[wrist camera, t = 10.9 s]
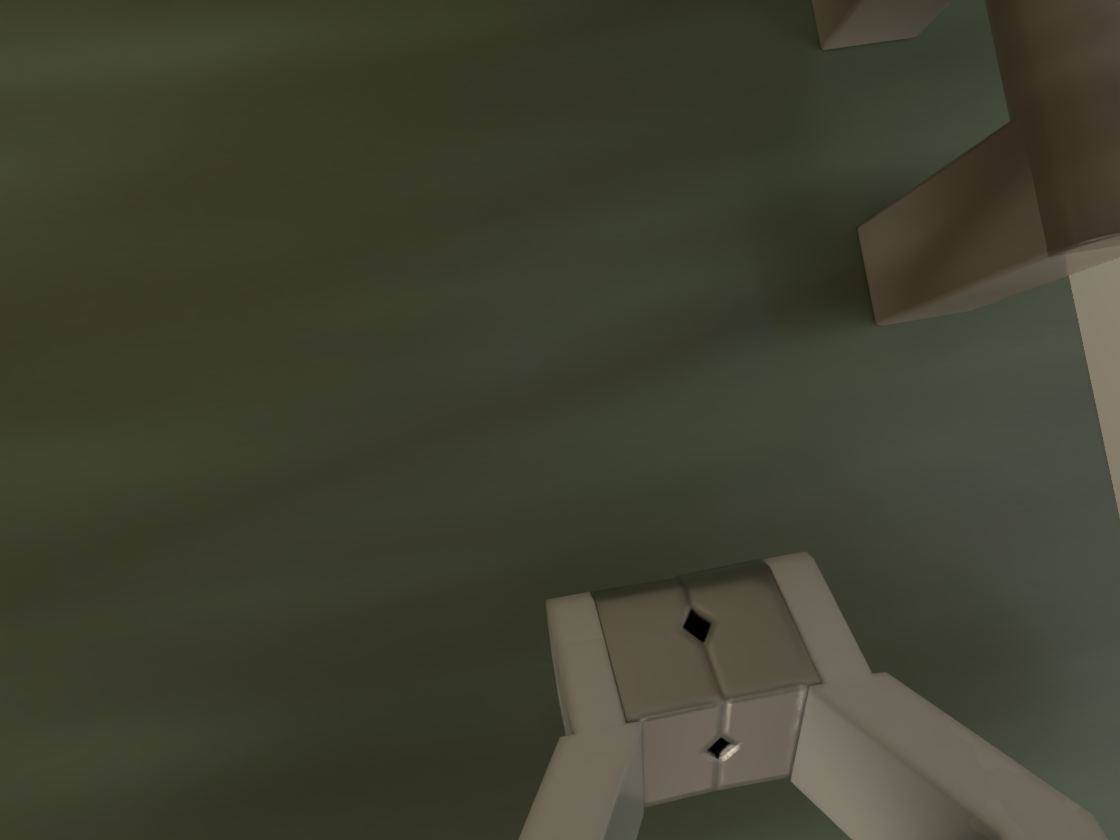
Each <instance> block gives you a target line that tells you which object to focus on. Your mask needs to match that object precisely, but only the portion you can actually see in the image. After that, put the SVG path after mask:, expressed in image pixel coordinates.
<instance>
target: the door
mask: <svg viewBox="0 0 1120 840" xmlns="http://www.w3.org/2000/svg"><path fill="white" fill-rule="evenodd" d="M1119 257H1120V0H0V840H518V839H519V836H520V834H521V832H522V829H523V827H524V824H525V822H526V819H527V817H528V814H529V812H530V809H531V807H532V804H533V802H534V800H535V797H536V795H537V792H538V790H539V787H540V785H541V782H542V780H543V777H544V775H545V772H546V770H547V768H548V765H549V763H550V760H551V758H552V755H553V753H554V750H555V748H556V745H557V743H558V741H559V738H560V737H561V736H566V734H565V729H564V724H563V719H562V714H561V709H560V704H559V699H558V692H557V686H556V679H555V673H554V666H553V660H552V653H551V645H550V637H549V628H548V620H547V612H546V604H545V602H546V600H547V599H552V598H558V597H563V596H568V595H574V594H579V593H585V592H590V593H591V592H592V591H597V590H604V589H610V588H616V587H622V586H628V585H634V584H640V583H646V582H652V581H658V580H664V579H670V578H675V577H676V576H678V575H682V574H687V573H692V572H697V571H702V570H707V569H712V568H717V567H722V566H727V565H731V564H736V563H741V562H746V561H751V560H756V559H760V560H763V559H768V558H773V557H778V556H783V555H788V554H793V553H797V552H807V553H808V554H809V555H810V556H812V557H813V558H814V560H815V562H816V564H817V566H818V568H819V570H820V572H821V573H822V575H823V577H824V579H825V581H826V583H827V585H828V587H829V589H830V591H831V593H832V595H833V597H834V599H835V601H836V603H837V605H838V607H839V609H840V611H841V613H842V615H843V617H844V619H845V621H846V623H847V625H848V627H849V629H850V631H851V633H852V634H853V636H854V638H855V640H856V642H857V644H858V646H859V648H860V650H861V652H862V654H863V656H864V658H865V660H866V662H867V664H868V666H869V668H870V670H871V672H872V673H879V672H885V671H886V672H887V673H888V674H890V675H891V676H893V677H894V678H896V679H897V680H899V681H900V682H901V683H903V684H904V685H906V686H907V687H909V688H910V689H912V690H913V691H915V692H916V693H917V694H919V695H920V696H922V697H923V698H925V699H926V700H928V701H929V702H930V703H932V704H933V705H935V706H936V707H938V708H939V709H941V710H942V711H943V712H945V713H946V714H948V715H949V716H951V717H952V718H954V719H955V720H956V721H958V722H959V723H961V724H962V725H964V726H965V727H967V728H968V729H970V730H971V731H972V732H974V733H975V734H977V735H978V736H980V737H981V738H983V739H984V740H985V741H987V742H988V743H990V744H991V745H993V746H994V747H996V748H997V749H998V750H1000V751H1001V752H1003V753H1004V754H1006V755H1007V756H1009V757H1010V758H1012V759H1013V760H1014V761H1016V762H1017V763H1019V764H1020V765H1022V766H1023V767H1025V768H1026V769H1027V770H1029V771H1030V772H1032V773H1033V774H1035V775H1036V776H1038V777H1039V778H1040V779H1042V780H1043V781H1045V782H1046V783H1048V784H1049V785H1051V786H1052V787H1054V788H1055V789H1056V790H1058V791H1059V792H1061V793H1062V794H1064V795H1065V796H1067V797H1068V798H1069V799H1071V800H1072V801H1074V802H1075V803H1077V804H1078V805H1080V806H1081V807H1082V808H1084V809H1085V810H1087V811H1088V812H1090V813H1091V814H1093V816H1094V818H1095V819H1096V821H1097V822H1098V824H1099V826H1100V827H1101V829H1102V830H1103V832H1104V834H1105V835H1106V837H1107V838H1108V840H1120V519H1119V513H1118V508H1117V504H1116V499H1115V494H1114V490H1113V485H1112V480H1111V475H1110V471H1109V466H1108V461H1107V456H1106V451H1105V447H1104V442H1103V437H1102V432H1101V428H1100V423H1099V418H1098V413H1097V409H1096V404H1095V400H1094V394H1093V390H1092V385H1091V380H1090V375H1089V371H1088V366H1087V361H1086V357H1085V352H1084V347H1083V342H1082V338H1081V333H1080V328H1079V323H1078V318H1077V313H1076V309H1075V304H1074V299H1073V295H1072V290H1071V285H1070V280H1069V275H1072V274H1074V273H1077V272H1080V271H1083V270H1085V269H1088V268H1091V267H1094V266H1097V265H1099V264H1102V263H1105V262H1108V261H1111V260H1113V259H1116V258H1119ZM636 840H852V839H851V838H850V837H849V836H848V835H847V834H846V833H845V832H843V831H842V830H841V829H840V828H839V827H838V826H837V825H836V824H835V823H834V822H833V821H832V820H831V819H830V818H829V817H828V816H827V815H826V814H825V813H824V812H822V811H821V810H820V809H819V808H818V807H817V806H816V805H815V804H814V803H813V802H812V801H811V800H810V799H809V798H808V797H807V796H806V795H805V794H804V793H802V792H801V791H800V790H799V789H798V788H797V787H796V786H795V785H794V784H793V783H792V782H791V777H789V778H783V779H778V780H772V781H767V782H761V783H756V784H750V785H745V786H739V787H734V788H728V789H723V790H717V791H712V792H708V793H704V794H700V795H696V796H691V797H687V798H683V799H679V800H675V801H670V802H666V803H662V804H658V805H654V806H649V807H645V808H644V814H643V818H642V821H641V825H640V828H639V832H638V835H637V839H636Z"/></svg>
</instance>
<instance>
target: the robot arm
mask: <svg viewBox="0 0 1120 840" xmlns="http://www.w3.org/2000/svg"><path fill="white" fill-rule="evenodd" d="M545 604H546V612H547V620H548V628H549V637H550V645H551V653H552V660H553V666H554V673H555V679H556V686H557V692H558V699H559V704H560V709H561V714H562V719H563V724H564V729H565V734H566V736H561V737H560V738H559V741H558V743H557V745H556V748H555V750H554V753H553V755H552V758H551V760H550V763H549V765H548V768H547V770H546V772H545V775H544V777H543V780H542V782H541V785H540V787H539V790H538V792H537V795H536V797H535V800H534V802H533V804H532V807H531V809H530V812H529V814H528V817H527V819H526V822H525V824H524V827H523V829H522V832H521V834H520V836H519V839H518V840H636V839H637V835H638V832H639V828H640V825H641V821H642V818H643V814H644V808H645V807H649V806H654V805H658V804H662V803H666V802H670V801H675V800H679V799H683V798H687V797H691V796H696V795H700V794H704V793H708V792H712V791H717V790H723V789H728V788H734V787H739V786H745V785H750V784H756V783H761V782H767V781H772V780H778V779H783V778H789V777H791V782H792V783H793V784H794V785H795V786H796V787H797V788H798V789H799V790H800V791H801V792H802V793H804V794H805V795H806V796H807V797H808V798H809V799H810V800H811V801H812V802H813V803H814V804H815V805H816V806H817V807H818V808H819V809H820V810H821V811H822V812H824V813H825V814H826V815H827V816H828V817H829V818H830V819H831V820H832V821H833V822H834V823H835V824H836V825H837V826H838V827H839V828H840V829H841V830H842V831H843V832H845V833H846V834H847V835H848V836H849V837H850V838H851V839H852V840H1108V838H1107V837H1106V835H1105V834H1104V832H1103V830H1102V829H1101V827H1100V826H1099V824H1098V822H1097V821H1096V819H1095V818H1094V816H1093V814H1091V813H1090V812H1088V811H1087V810H1085V809H1084V808H1082V807H1081V806H1080V805H1078V804H1077V803H1075V802H1074V801H1072V800H1071V799H1069V798H1068V797H1067V796H1065V795H1064V794H1062V793H1061V792H1059V791H1058V790H1056V789H1055V788H1054V787H1052V786H1051V785H1049V784H1048V783H1046V782H1045V781H1043V780H1042V779H1040V778H1039V777H1038V776H1036V775H1035V774H1033V773H1032V772H1030V771H1029V770H1027V769H1026V768H1025V767H1023V766H1022V765H1020V764H1019V763H1017V762H1016V761H1014V760H1013V759H1012V758H1010V757H1009V756H1007V755H1006V754H1004V753H1003V752H1001V751H1000V750H998V749H997V748H996V747H994V746H993V745H991V744H990V743H988V742H987V741H985V740H984V739H983V738H981V737H980V736H978V735H977V734H975V733H974V732H972V731H971V730H970V729H968V728H967V727H965V726H964V725H962V724H961V723H959V722H958V721H956V720H955V719H954V718H952V717H951V716H949V715H948V714H946V713H945V712H943V711H942V710H941V709H939V708H938V707H936V706H935V705H933V704H932V703H930V702H929V701H928V700H926V699H925V698H923V697H922V696H920V695H919V694H917V693H916V692H915V691H913V690H912V689H910V688H909V687H907V686H906V685H904V684H903V683H901V682H900V681H899V680H897V679H896V678H894V677H893V676H891V675H890V674H888V673H887V672H886V671H885V672H879V673H872V672H871V670H870V668H869V666H868V664H867V662H866V660H865V658H864V656H863V654H862V652H861V650H860V648H859V646H858V644H857V642H856V640H855V638H854V636H853V634H852V633H851V631H850V629H849V627H848V625H847V623H846V621H845V619H844V617H843V615H842V613H841V611H840V609H839V607H838V605H837V603H836V601H835V599H834V597H833V595H832V593H831V591H830V589H829V587H828V585H827V583H826V581H825V579H824V577H823V575H822V573H821V572H820V570H819V568H818V566H817V564H816V562H815V560H814V558H813V557H812V556H810V555H809V554H808V553H807V552H797V553H793V554H788V555H783V556H778V557H773V558H768V559H763V560H760V559H756V560H751V561H746V562H741V563H736V564H731V565H727V566H722V567H717V568H712V569H707V570H702V571H697V572H692V573H687V574H682V575H678V576H676V577H675V578H670V579H664V580H658V581H652V582H646V583H640V584H634V585H628V586H622V587H616V588H610V589H604V590H597V591H592V592H591V593H590V592H585V593H579V594H574V595H568V596H563V597H558V598H552V599H547V600H546V602H545Z"/></svg>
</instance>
